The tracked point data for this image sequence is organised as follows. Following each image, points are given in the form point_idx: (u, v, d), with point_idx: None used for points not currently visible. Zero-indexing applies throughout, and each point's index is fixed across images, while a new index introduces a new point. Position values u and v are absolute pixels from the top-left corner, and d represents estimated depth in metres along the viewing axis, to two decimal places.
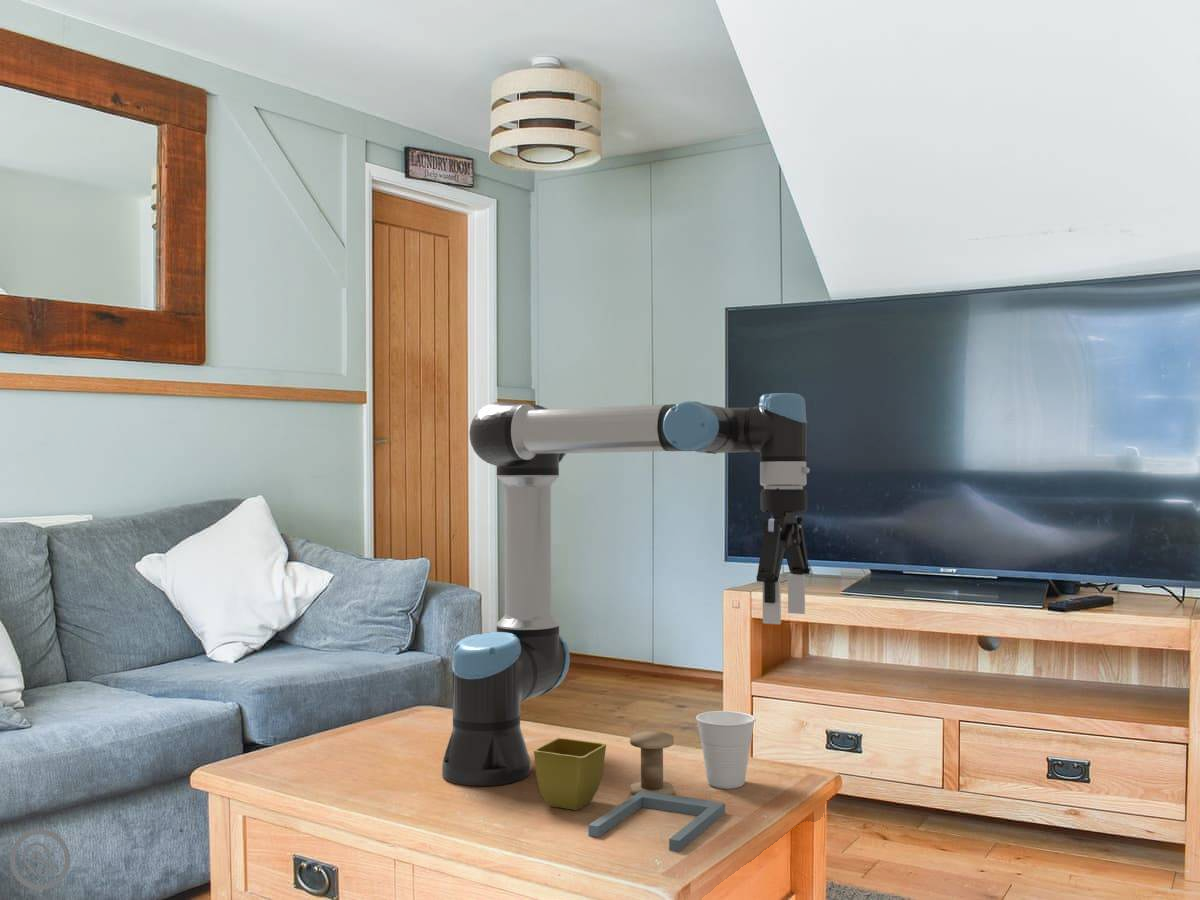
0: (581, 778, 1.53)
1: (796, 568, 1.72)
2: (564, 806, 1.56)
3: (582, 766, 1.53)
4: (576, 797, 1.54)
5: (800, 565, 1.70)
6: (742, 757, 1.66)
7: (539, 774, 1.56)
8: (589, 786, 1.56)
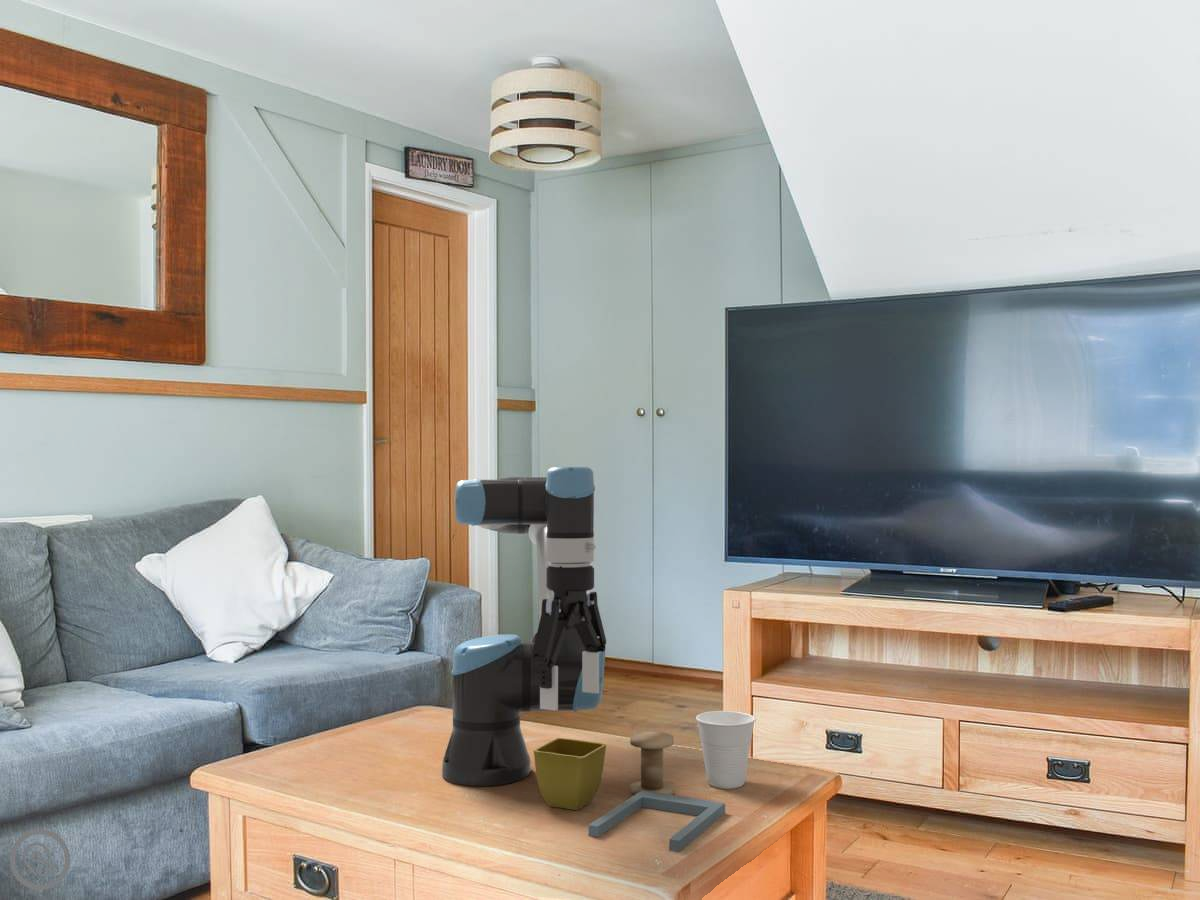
0: (581, 778, 1.53)
1: (591, 645, 1.66)
2: (564, 806, 1.56)
3: (582, 766, 1.53)
4: (576, 797, 1.54)
5: (593, 643, 1.64)
6: (742, 757, 1.66)
7: (538, 774, 1.56)
8: (589, 786, 1.56)
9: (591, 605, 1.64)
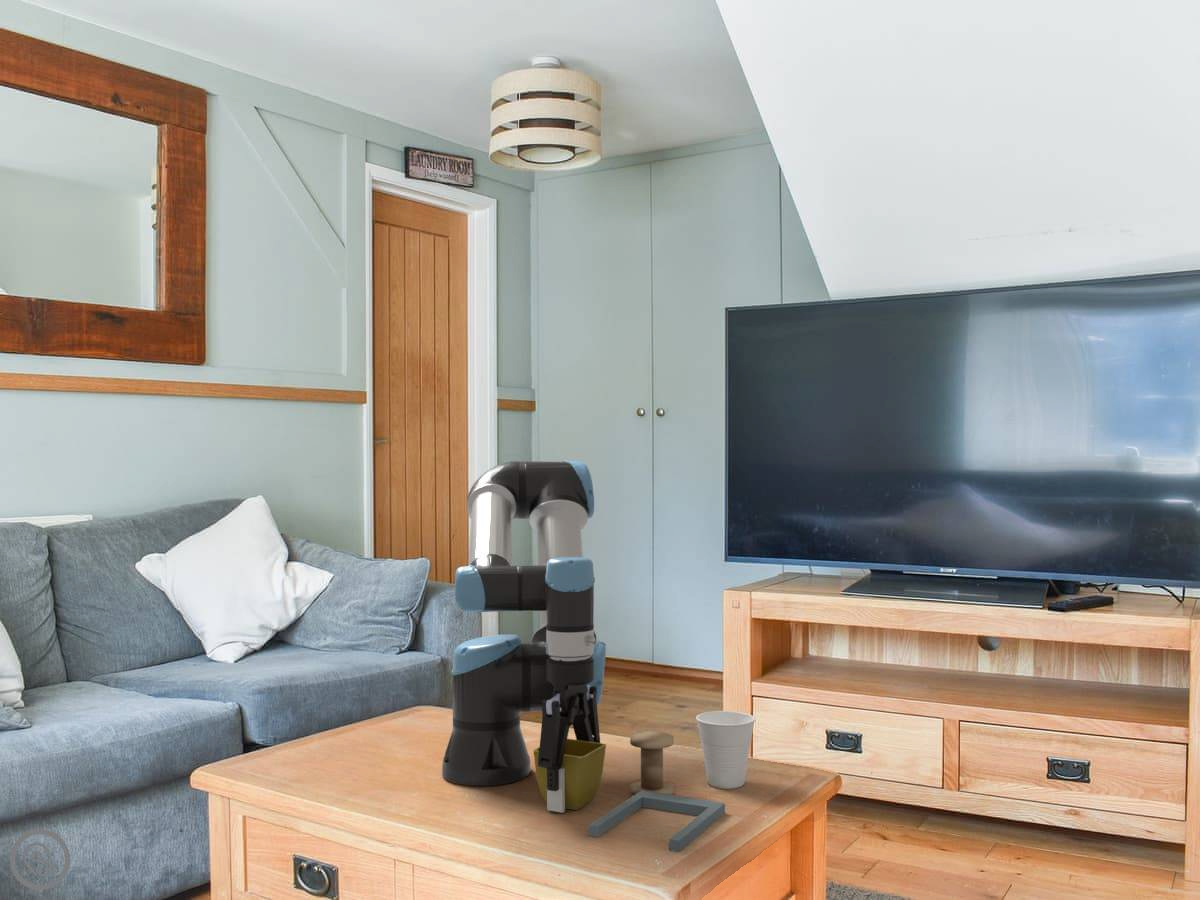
0: (581, 778, 1.53)
1: None
2: None
3: (581, 766, 1.53)
4: (576, 797, 1.54)
5: None
6: (742, 757, 1.66)
7: (538, 774, 1.56)
8: (589, 786, 1.56)
9: (590, 699, 1.63)
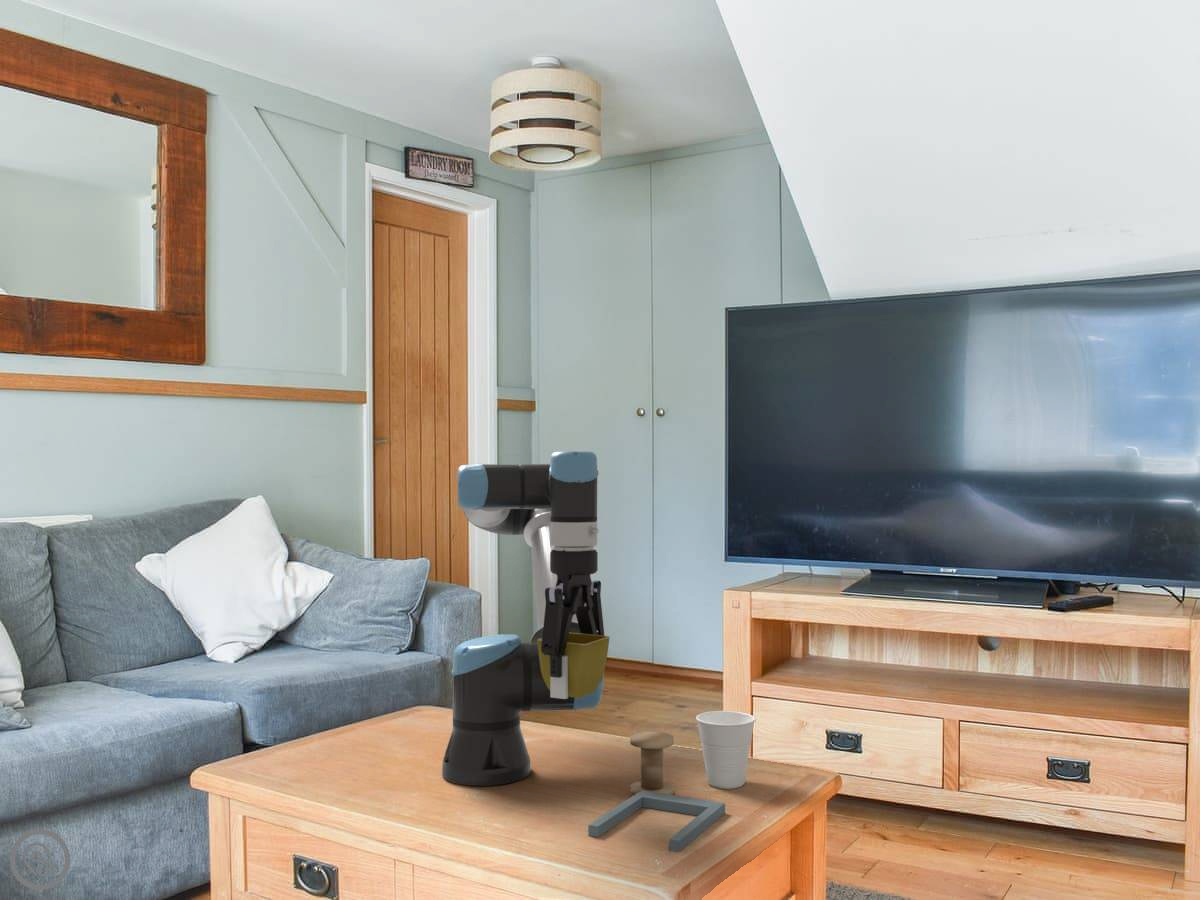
0: (584, 665, 1.55)
1: None
2: None
3: (584, 653, 1.55)
4: (579, 684, 1.56)
5: None
6: (742, 757, 1.66)
7: (542, 662, 1.58)
8: (592, 675, 1.58)
9: (594, 593, 1.65)
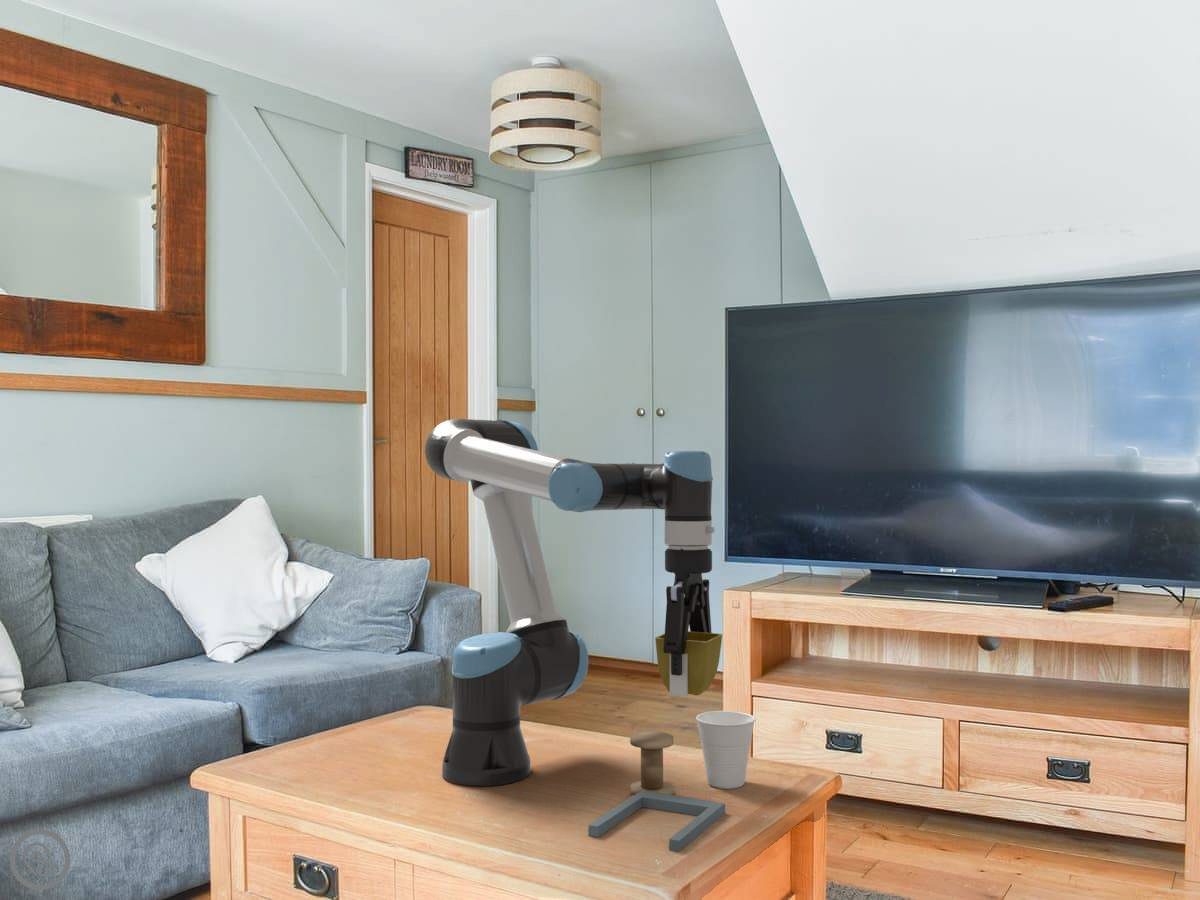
0: (705, 662, 1.56)
1: None
2: None
3: (706, 650, 1.56)
4: (699, 681, 1.57)
5: None
6: (742, 757, 1.66)
7: (660, 660, 1.59)
8: (710, 672, 1.59)
9: (703, 592, 1.66)
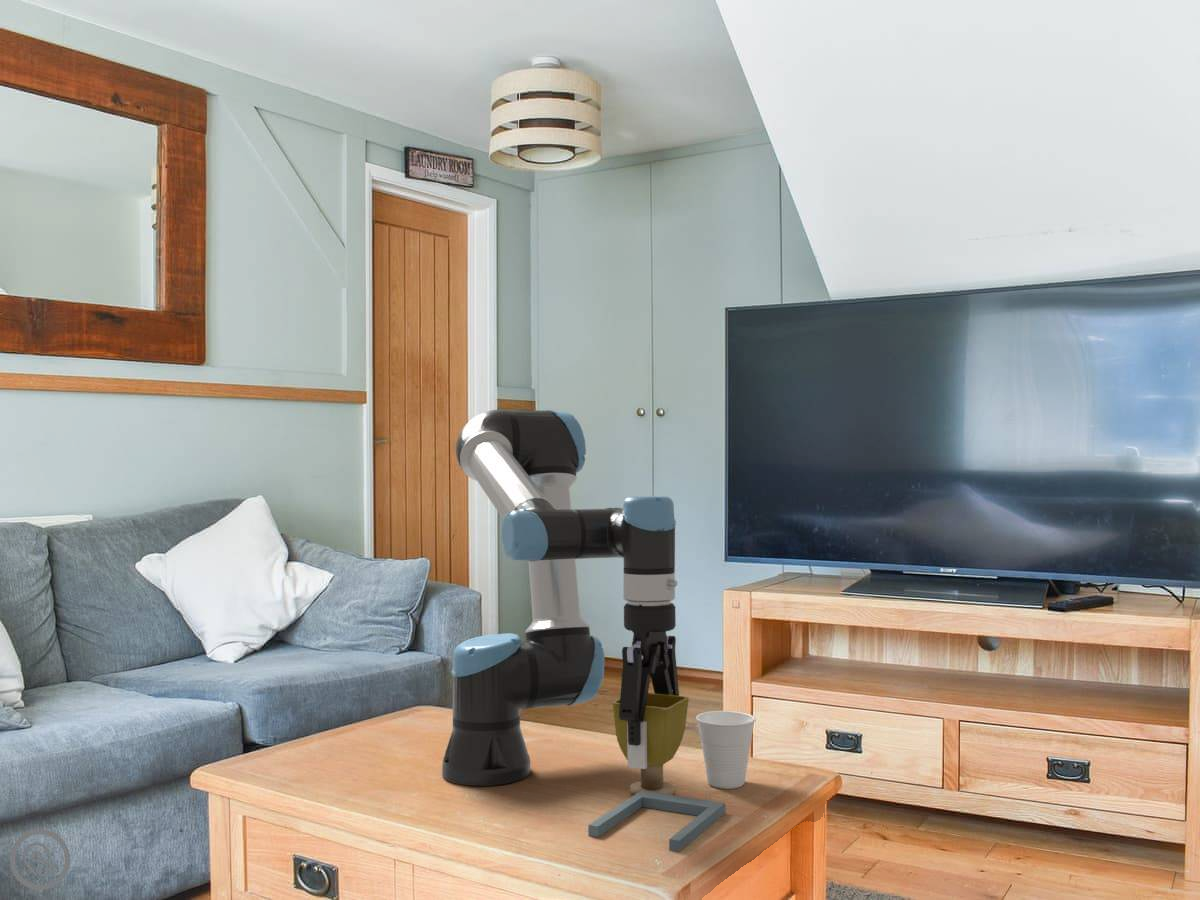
0: (666, 731, 1.42)
1: None
2: None
3: (666, 718, 1.41)
4: (660, 752, 1.42)
5: None
6: (742, 757, 1.66)
7: (618, 728, 1.45)
8: (673, 741, 1.44)
9: (669, 650, 1.52)
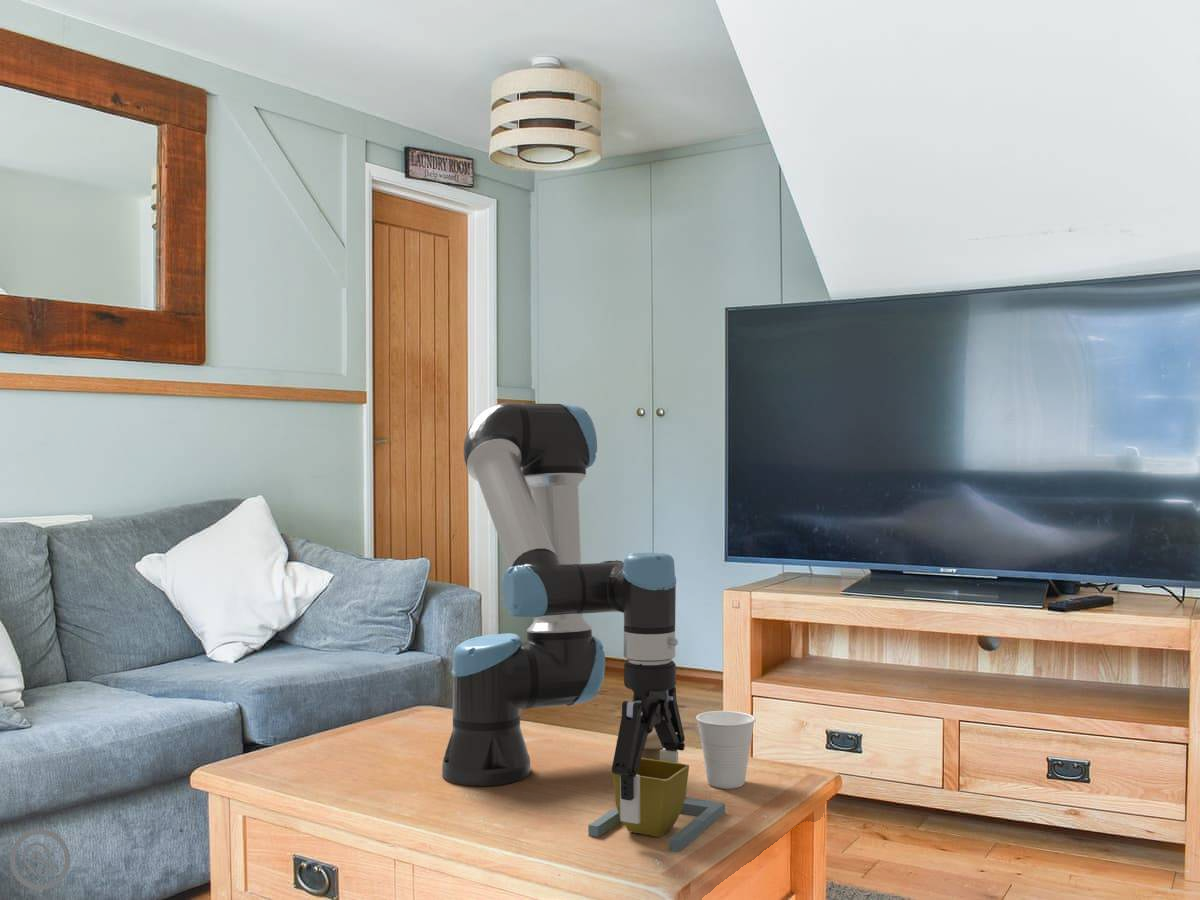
0: (665, 803, 1.42)
1: (669, 743, 1.53)
2: (646, 832, 1.44)
3: (666, 789, 1.41)
4: (659, 823, 1.42)
5: (672, 741, 1.52)
6: (742, 757, 1.66)
7: (618, 797, 1.45)
8: (672, 811, 1.44)
9: (670, 701, 1.52)
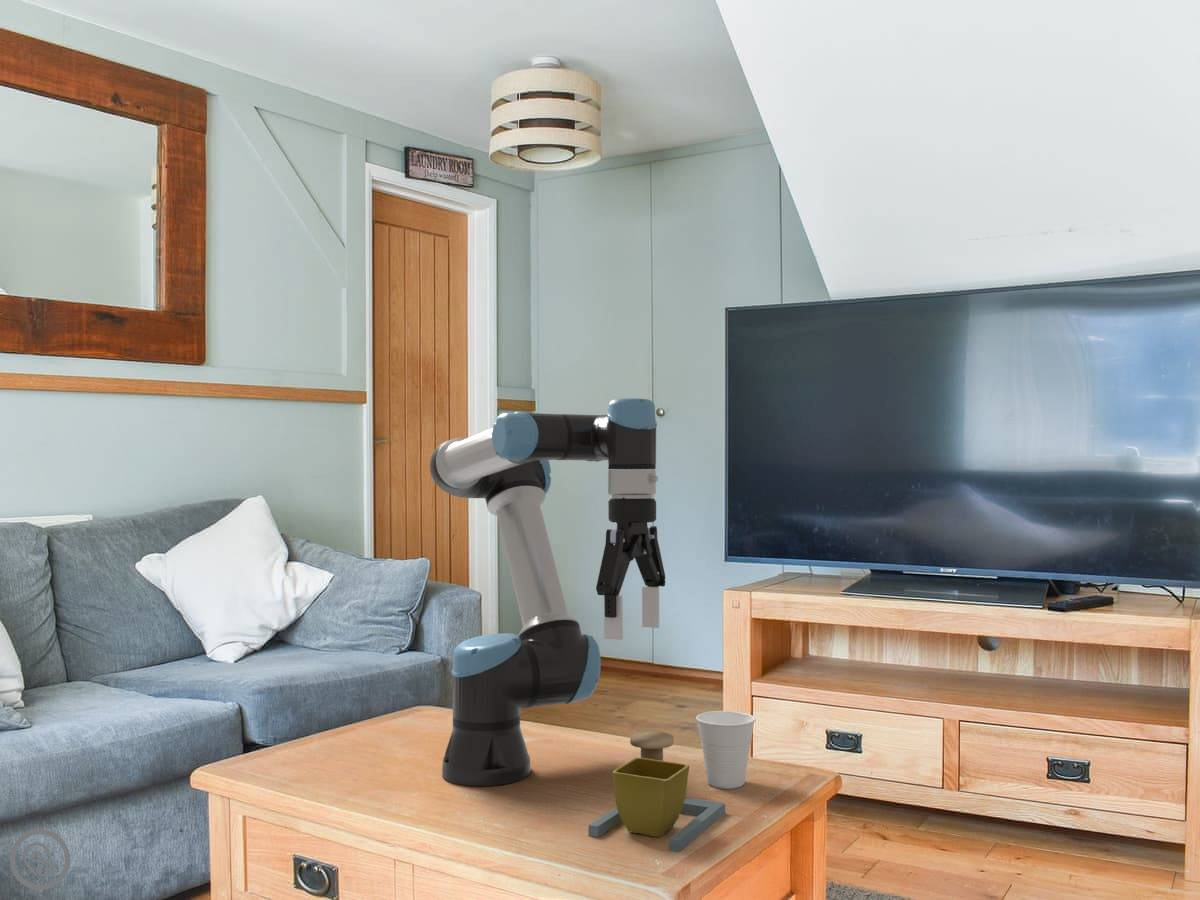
0: (665, 803, 1.42)
1: (651, 580, 1.65)
2: (646, 832, 1.44)
3: (666, 789, 1.41)
4: (659, 823, 1.42)
5: (654, 577, 1.64)
6: (742, 757, 1.66)
7: (618, 797, 1.45)
8: (672, 811, 1.44)
9: (651, 539, 1.64)
